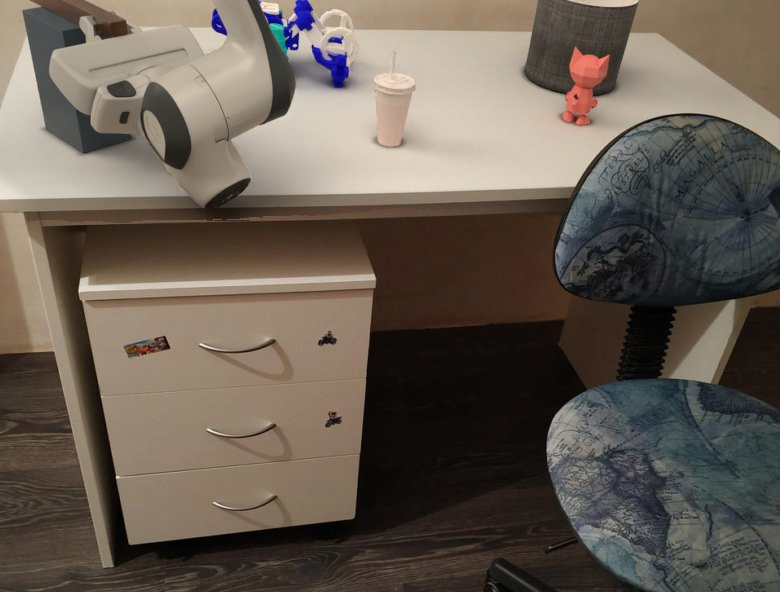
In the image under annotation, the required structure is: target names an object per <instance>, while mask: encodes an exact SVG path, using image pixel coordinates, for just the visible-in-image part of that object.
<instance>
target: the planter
mask: <svg viewBox="0 0 780 592" xmlns="http://www.w3.org/2000/svg"><path fill="white" fill-rule="evenodd" d="M639 2H640V0H537V4H536V9H535V15H534V18H533V19H534V20H533V24H532V30H531V36H530V40H529V47H528V52H527V57H526V61H525V65H524V70H523V72H524V75H525V76H526V78H528V79H529V80H530V81H531V82H533V83H535V84H537V85H538V86H541V87H542V88H545V89H548V90H551V91H555V92H558V93H564V94H567V93H568V92H570V91H571V90H572V89H573V87H574V86H575V84H576V83H575V82H574V80H573V79H572V77H571V73H570V67H569V65H570V62H571V58H572V55H573V52H574V48H575V46H576V48H577V49H578V50H579V51H580V52H581V54H582V55H583V56H584V55H594V56H596V57H598V59H601V58H603V57H606V56H608V55H610V57H609V63H608V69H607V75H606V76H605V78H604V79H603V80H605V81H606V82H605V81H603V80H602V82H601V83H599V84H597V85H596V86H594V87H592V92H593V96H597V95H604V94H607V93H609V92H611V91H613V90H614V89H615V88H616V85H617V81H618V77H619V73H620V69H621V65H622V63H623V58H624V55H625V53H626V49H627V45H628V42H629V39H630V34H631V32H632V31H631V30H632V27H633V25H634V20H635V16H636V13H637V9H638V5H639Z"/></svg>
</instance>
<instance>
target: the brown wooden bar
mask: <svg viewBox="0 0 780 592" xmlns="http://www.w3.org/2000/svg"><path fill="white" fill-rule="evenodd" d="M29 1H30V2H31V3H34V4H35V5H38V6H39V7H43V8H45V9H47V10H49V11H51V12H53V13H55V14H57V15H59V16H61V17H63V18H65V19H67V20H69V21H71V22H73V23H75V24H77V25H79V22H80V17H84V16H90V15H92V16H93V18H94V20H96V22H97V23H98V28H97V29H96V30H97V33H96V35H98V36H100V37H102V38H104V39H109V38H114V37H119V36H124V35H128V30H127V22H126V20H127V19H126V20H125V18H124V17H123V18H124V19H123V18H121V17H119V16H117V15H115V14H113V13H110V12H111V11H108V10H106V9H104V8H101V7H100V6H98V5H96V4H94V3H92V2H90V1H87V0H29Z"/></svg>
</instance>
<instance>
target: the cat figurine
mask: <svg viewBox="0 0 780 592" xmlns="http://www.w3.org/2000/svg"><path fill="white" fill-rule="evenodd" d="M609 57H610V55H608V56H606V57H603V58H601V59H598V57H596V56H594V55H584V56H583V55H582V54H581V52H580V51H579V50H578V49H577V48H576V46H575V48H574V52H573V55H572V58H571V62H570V65H569V67H570V73H571V77H572V79H573V80H574V82H575V83H576V84H575V86H574V87H573V89H572V90H571V91H570V92H568V93H565V96H564V100H565V101H566V107H565V108H566V109H565V110H566V111H565V112H564V113H563V114H562V115H561V117H562V119H563V120H564V121H565V122H567V123H572V122H574V118H575V117H574V114H575V115H578V118H577V119H576V120H575V125H577V126H583V125H589V124H591V120H590V116H588V115H587V114H589V113H591V110H593V109H594V108H596V107H598V103H599V102H598V101H599V100H598V98H597V97H596V96H594V95H593V92H592V87H594V86H596V85H597V84H599V83H601V82H602V80H603V79H604V78H605V76H606V75H607V69H608V63H609ZM603 81H605V80H603ZM605 82H606V81H605Z"/></svg>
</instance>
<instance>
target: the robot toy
mask: <svg viewBox="0 0 780 592" xmlns="http://www.w3.org/2000/svg"><path fill="white" fill-rule="evenodd" d="M258 1H259V3H260V6H261V8H262V10H263V12H264V15H265V17H266V19H267V22H268V24H269V26H270V28H271V30H272V32H273V34H274V36H275V38H276V40H277V41H278V43H279V45H280V47H281V48H282V50H283V52H284V54H285V55H286V57H287V59H288V61H289V62H290V57H289V56H288V50H289V51H294V52H295V51H298V50H299V47H300V32H303V33H304V34H305V36H306V37H307V38H308V40H309V41H310V43H311V45H310V47H311V53H312V55H313V58H314V60H315V62H316V63H317V64H319V65H320V66H322V67H324V68H326V69H328V70H330V77H331V82H332V85H333V87H335V88H343V87H344V86H345V81H346V79H349V78H350V75H351V69H350V68H351V66H350V65H351V64H352V63H354V61H355V60H356V59H357V57H358V55H359V52H360V51H359V50H360V46H359V42H358V38H357V36H356V35H355V33H354V32H355V26H354V24H353V20H352V18H351V16H350V15H349V14H348V12H345V11H343V10H341V9H337V8H335V9H331V10H330V11H329V10H327V11H325V12H324V13H322V14H321V16H320V17H318V16H317V15H316V13H315V12H314V8H313V6H312V4H311V3H310V1H309V0H296V1H295V2H294V4H295V7H294V8H293V14H292V15H290V17H289V18H284V16H283V13H284V10H283V9H281V8H280V6H279V4H278V3H274V2H265V1H264V0H258ZM211 16H212V17H211V23H210V24H211V28H212V30H213V31H214V32H215V33H218V34H221V35H223V36H225V37H227V30H226V28H225V26H224V24H223V22H222V20H221V18H220V16H219V14H218V12H217V10H216V8H215V7H214V9H213V10H212V15H211ZM334 16H337V17H340V23H339V26H336V27H334V26H325V25H324V24H325V21H326V20H328V19H329V18H331V17H334ZM347 25H348V28H347ZM351 44H353V47H352V52H351V54H350V55H349V52H350V49H351ZM294 45H296V46H294Z"/></svg>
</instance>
